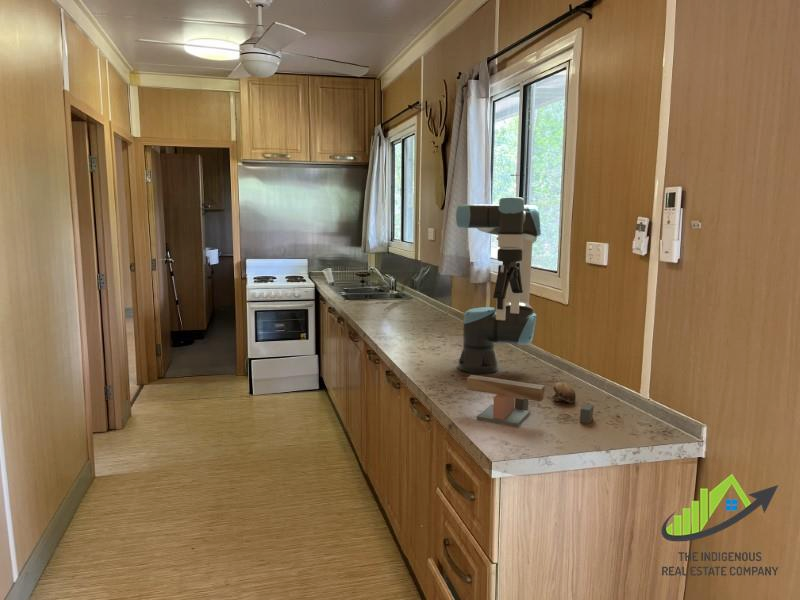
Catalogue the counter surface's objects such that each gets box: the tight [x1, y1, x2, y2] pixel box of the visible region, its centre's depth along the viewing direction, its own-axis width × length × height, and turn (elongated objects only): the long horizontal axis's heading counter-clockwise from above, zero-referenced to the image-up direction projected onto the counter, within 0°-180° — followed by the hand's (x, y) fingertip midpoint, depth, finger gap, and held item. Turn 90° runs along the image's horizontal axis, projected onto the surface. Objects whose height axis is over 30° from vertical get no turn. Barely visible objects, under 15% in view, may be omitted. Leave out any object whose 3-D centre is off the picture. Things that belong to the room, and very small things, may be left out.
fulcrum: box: [476, 394, 531, 428], centre depth 164 cm, size 12×12×7 cm
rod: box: [466, 374, 546, 402], centre depth 163 cm, size 4×22×4 cm, turn 61°
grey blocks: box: [514, 398, 594, 425], centre depth 166 cm, size 5×22×4 cm, turn 61°
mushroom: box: [551, 381, 577, 404], centre depth 178 cm, size 8×8×6 cm
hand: (507, 316), depth 176 cm, fingers open, 13 cm apart
